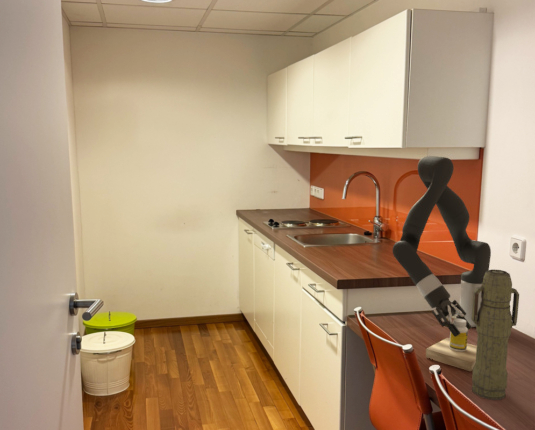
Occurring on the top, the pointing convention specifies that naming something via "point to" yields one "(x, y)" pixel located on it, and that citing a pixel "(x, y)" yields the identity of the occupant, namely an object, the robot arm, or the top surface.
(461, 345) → the supplement bottle
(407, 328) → the top surface
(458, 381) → the top surface
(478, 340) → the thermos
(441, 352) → the base board
